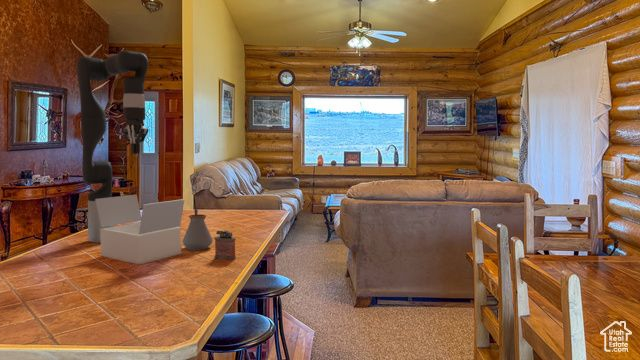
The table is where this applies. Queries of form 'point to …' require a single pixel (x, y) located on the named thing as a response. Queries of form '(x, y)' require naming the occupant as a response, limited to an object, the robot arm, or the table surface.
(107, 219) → the flap
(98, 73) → the robot arm
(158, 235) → the carton
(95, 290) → the table surface
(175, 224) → the flap
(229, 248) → the lighter
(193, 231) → the coffee pot
